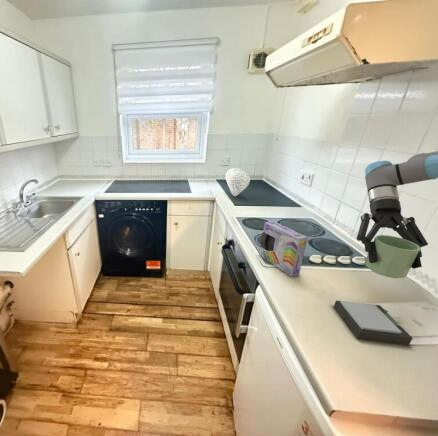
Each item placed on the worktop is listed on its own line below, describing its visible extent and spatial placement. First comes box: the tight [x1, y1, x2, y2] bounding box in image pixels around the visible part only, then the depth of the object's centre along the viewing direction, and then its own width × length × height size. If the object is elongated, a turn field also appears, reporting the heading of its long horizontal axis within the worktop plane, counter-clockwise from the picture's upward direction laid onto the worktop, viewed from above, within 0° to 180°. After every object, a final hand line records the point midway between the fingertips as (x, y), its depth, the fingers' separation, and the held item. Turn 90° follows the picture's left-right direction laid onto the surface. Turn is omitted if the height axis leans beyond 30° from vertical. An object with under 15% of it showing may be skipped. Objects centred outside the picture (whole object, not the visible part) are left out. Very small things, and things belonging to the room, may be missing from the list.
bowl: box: [364, 234, 422, 279], centre depth 77 cm, size 10×10×10 cm
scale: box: [333, 300, 414, 347], centre depth 74 cm, size 13×13×4 cm
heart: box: [224, 167, 251, 197], centre depth 194 cm, size 28×16×22 cm, turn 175°
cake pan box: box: [259, 220, 308, 277], centre depth 102 cm, size 19×5×18 cm, turn 18°
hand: (394, 264), depth 75 cm, fingers closed on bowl, 10 cm apart
